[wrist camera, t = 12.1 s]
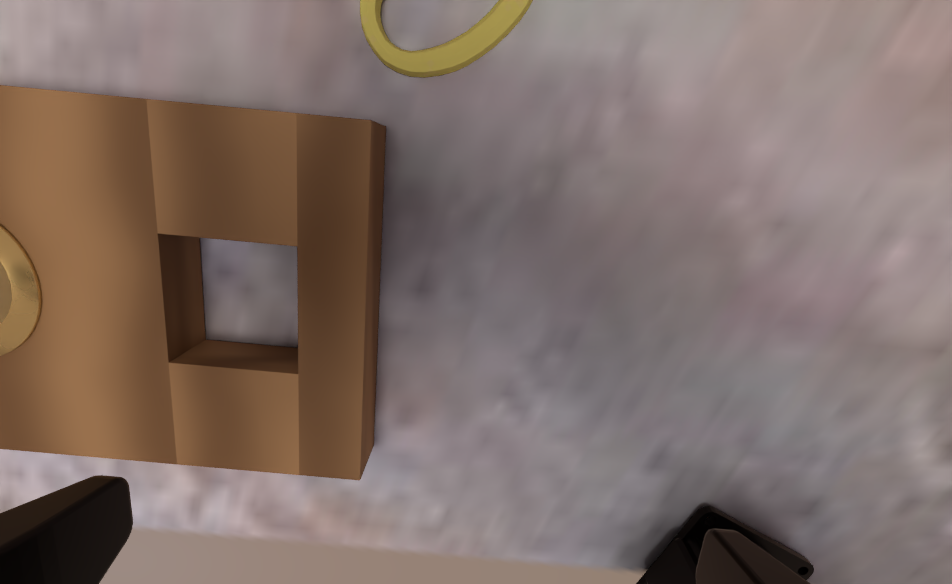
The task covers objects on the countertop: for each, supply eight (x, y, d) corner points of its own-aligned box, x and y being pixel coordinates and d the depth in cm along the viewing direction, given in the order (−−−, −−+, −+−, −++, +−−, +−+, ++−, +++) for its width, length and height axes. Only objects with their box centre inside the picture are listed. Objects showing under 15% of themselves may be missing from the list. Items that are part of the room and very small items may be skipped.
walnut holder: (386, 126, 18) (370, 120, 16) (373, 445, 22) (360, 480, 19) (-137, 77, 18) (-233, 63, 16) (-62, 407, 22) (-131, 437, 19)
